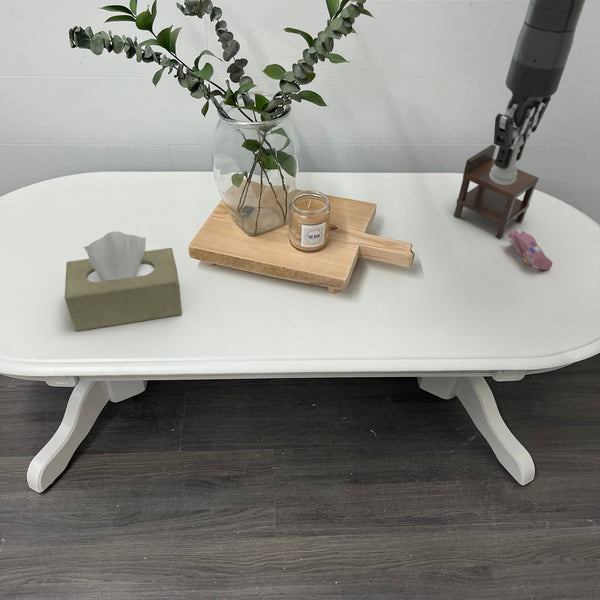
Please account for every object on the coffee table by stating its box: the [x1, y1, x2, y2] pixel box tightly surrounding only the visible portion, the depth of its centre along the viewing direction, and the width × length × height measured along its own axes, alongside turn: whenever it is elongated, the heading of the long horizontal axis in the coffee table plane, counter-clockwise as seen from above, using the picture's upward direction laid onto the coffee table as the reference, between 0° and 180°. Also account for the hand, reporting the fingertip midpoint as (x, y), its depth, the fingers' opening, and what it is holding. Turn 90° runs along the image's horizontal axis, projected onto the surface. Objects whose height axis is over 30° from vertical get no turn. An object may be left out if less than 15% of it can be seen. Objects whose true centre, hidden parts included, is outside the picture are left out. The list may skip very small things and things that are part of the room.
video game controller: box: [507, 228, 553, 271], centre depth 115 cm, size 10×5×7 cm, turn 17°
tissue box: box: [64, 230, 183, 332], centre depth 99 cm, size 19×10×16 cm, turn 105°
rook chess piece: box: [489, 135, 524, 185], centre depth 94 cm, size 4×4×8 cm
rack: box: [453, 143, 540, 240], centre depth 123 cm, size 12×10×14 cm
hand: (507, 162), depth 95 cm, fingers closed on rook chess piece, 3 cm apart
